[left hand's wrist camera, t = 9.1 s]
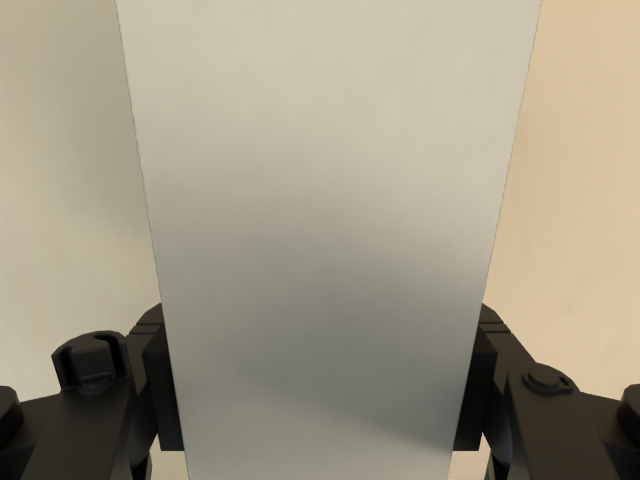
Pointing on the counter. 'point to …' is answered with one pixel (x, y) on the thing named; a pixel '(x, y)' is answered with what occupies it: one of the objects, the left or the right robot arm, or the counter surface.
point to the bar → (323, 220)
